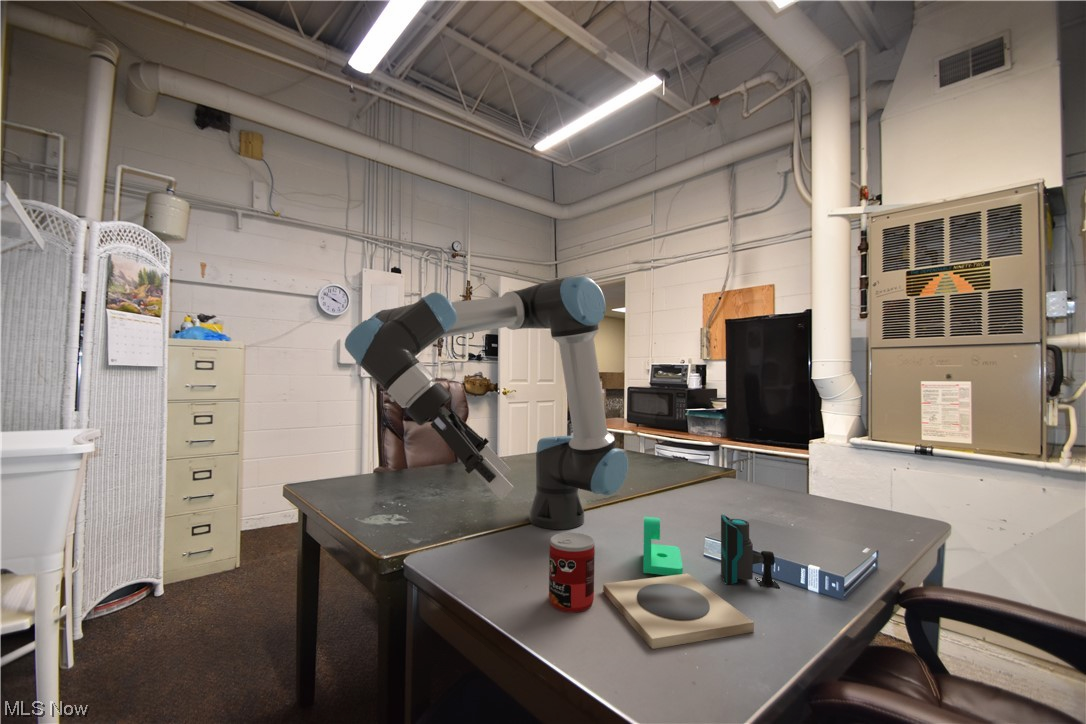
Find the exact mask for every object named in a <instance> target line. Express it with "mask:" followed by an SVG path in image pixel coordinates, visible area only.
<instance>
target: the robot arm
mask: <svg viewBox="0 0 1086 724" xmlns="http://www.w3.org/2000/svg"><path fill="white" fill-rule="evenodd" d="M605 313H606V299H605V296H604V293H603V291H602V289H601V287H600V286H599V285H598V283H596V282H595V281H594V280H593V279H591V278H590V277H588V276H581V275H580V276H570V277H565V278H561V279H556V280H552V281H548V282H541V283H539V284H535V285H532V286H529V287H525V288H522V289H518V290H512V291H506V292H504V293H503V295H501V296H495V297H494V296H493V297H487V298H486V297H485V298H478V299H467V300H461V301H450V300H449V299H448V298H447V297H446V296H445V295H443V294H442V293H439V292H433V291H432V292H431V293H429V294H427V295H426V296H423V297H421V298H420V299H419V300H418V301H417V302H415V303H413V304H408V305H403V306H399V307H395V308H394V307H393V308H390V309H381V310H380V311H378V312H375V313H374V314H373V315H372V316H371V317H370V318H368V319H365V320H363V321H361V322H360V323H359V324H357V325H356V326H355V327H354V328H353V329H352V330H351V331H350V332H349V333H348V335H347V336H346V337H345V340H344V341H345V342H344V348H345V350H346V351H347V352H348V353H349V354H350V356H351V357H352V359H354V361H356V363H357V364H358V366H359V367H361V369H363V370H364V371H365V372H366V373H367V374H368V375H369V376H370V377H371V378H372V379H373V380H374V381H375V382H376V383H377V384H378V385H379V386H380V387H381V388H383V390H385V392H386V393H388V395H390V397H389V401H390V402H392V403H393V402H396V403H397V404H398V405H399V406H400V408H402V409H405V408H407V410H406V414H407V415H408V416H409V417H410V418H411V419H412V420H413V421H414V422H415V423H416V424H417V425H418V426H423V425H425V424H426V423H427V422H428V421H430V419H431V420H432V422H431V423H430V426H431V428H432V429H434V430H435V431H436V432H437V434H438V435H439V436H440V437H441V438H442V439H443V441H444V442H445V444H447V446H448V447H449V448H450V450H452V452H453V454H455V455H456V457H457V458H458V459H459V460H460V462H461V463H462V464H463V465H464V468H465V469H464V471H465V473H468V475H469V474H471V473H472V472H473V473H474V474H475V475H477V477H478V478H479V479H480V480H481V481H482V482H483V483H484V484H485V485H486V486H487V487H488V488H489V489H490V490H491V492H493V493H494V494H495V495H496V496H497V497H498V498H499V499H500V500H503V499H504V498H505V496H507V495H508V494H509V493H510V492H511V491H512V490H513V489H514V488H515V487H514V486H513V484H511V483H510V481H508V479H507V478H506V477H505V476H507V474H509V472H510V471H511V470H512V469H511V468H510V467H509V466H508V465H507V464H506V463H505V462H504V461H503V459H501V457H499V455H498V454H497V453H496V452H495V451H494V450H493V449H492V448H491V447H490V446H489V445H488V443H490V441H489V440H488V438H486V437H485V438H483V437H482V436H480V435H479V434H478V433H477V432H476V431H475V430H474V429H473V428H472V427H470V425H468V424H467V423H466V422H465V421H464V420H463V419H462V418H461V417H460V416H459V414H458V413H457V412H456V411H453V409H452V408H447V407H445V405H446V404H447V403H449V402H450V401H451V400H452V398H453V396H452V394H451V393H450V392H449V390H447V388H445V387H444V385H443V384H442V383H441V382H436V377H435V375H433V374H432V372H431V371H430V370H429V369H428V368H427V367H426V365H424V364H423V363H422V362H421V361H419V359H417V357H416V356H417V355H419V354H420V353H421V352H422V351H424V350H425V349H426V348H428V347H429V346H430V345H431V344H433V343H434V342H436V341H437V340H438V339H442V338H447V337H454V336H459V335H460V336H461V335H466V334H472V333H478V332H484V331H485V332H486V331H490V330H491V331H492V330H497V329H502V328H506V329H509V330H511V331H512V330H513V331H514V330H521V329H523V330H524V329H539V330H540V329H542V330H544V329H545V330H546V329H549V330H550V335H551V339H553V340H554V341H556V343H557V344H558V345H559V352H560V359H561V365H562V370H563V371H562V372H563V376H564V383H565V390H566V398H567V403H568V409H569V414H570V421H571V428H572V434H573V435H560V436H559V435H558V436H557V435H556V436H547V437H542V438H540V439H539V440H538V441H537V445H536V452H535V455H536V457H535V464H536V466H535V467H536V469H535V481H536V482H535V483H536V484H535V485H536V487H535V488H536V489H535V494H534V496H533V497H534V498H533V499H532V503H531V506H530V509H529V515H528V520H529V523H530V524H531V525H534V526H535V527H538V528H543V529H548V530H549V529H550V530H567V529H574V528H578V527H581V526H582V525H583V524H584V523H585V512H584V508H583V504H582V501H581V497H580V495H579V490H583V491H587V492H591V493H592V494H594V495H603V496H611V495H613V494H615V493H617V492H618V491H619V490H620V489H621V488H622V486H623V485H624V481H625V480H626V478H627V474H628V470H629V460H628V455H627V454H626V453H625V452H624V450H622V449H620V448H618V447H616V446H617V445H616V439H615V436H614V435H613V434H612V433H610V432H609V431H608V426H607V425H608V424H607V420H606V419H607V418H606V412H605V405H604V399H603V391H602V384H601V378H600V374H599V373H600V372H599V366H598V360H597V359H598V357H597V352H596V345H595V337H596V335H597V334H598V333H599V331H600V328H599V323H601V321H603V320H604V317H605Z"/></svg>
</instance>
